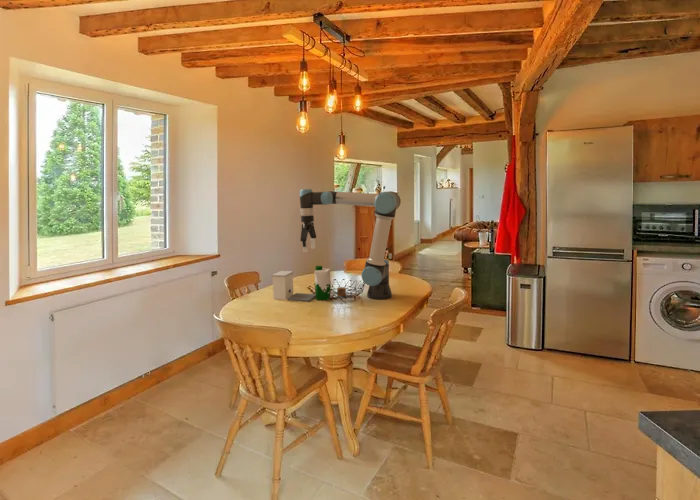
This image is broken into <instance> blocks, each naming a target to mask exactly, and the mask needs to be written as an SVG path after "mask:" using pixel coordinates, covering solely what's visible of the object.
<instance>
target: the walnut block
mask: <svg viewBox="0 0 700 500" xmlns="http://www.w3.org/2000/svg"><path fill="white" fill-rule="evenodd" d="M336 295H337V298H340V297H339V296H346V297H347V288H346V287H344V286H340V287H339V286H338V287H337V294H336Z"/></svg>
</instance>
